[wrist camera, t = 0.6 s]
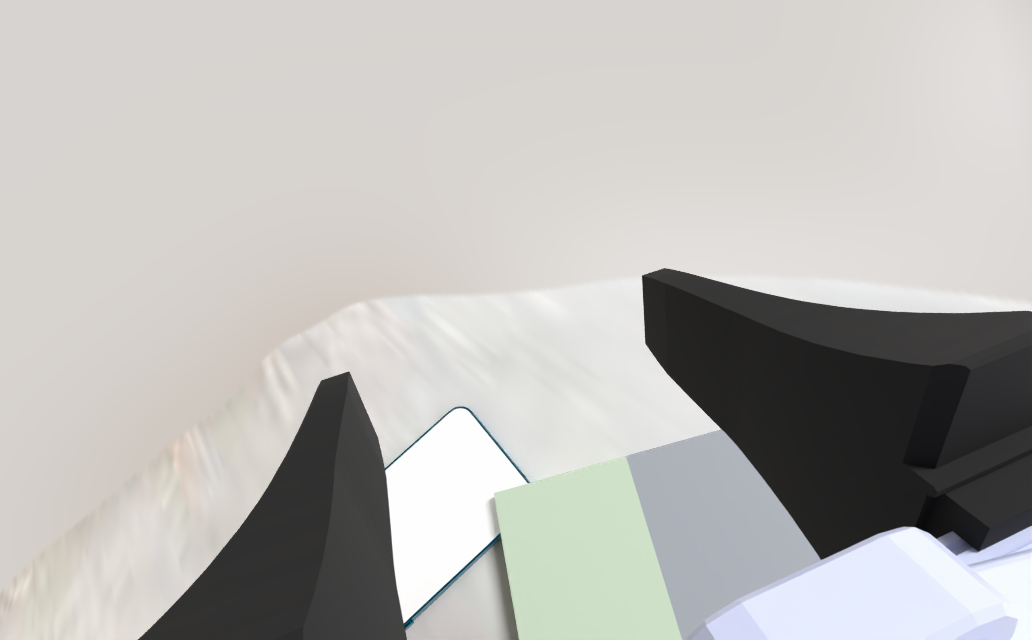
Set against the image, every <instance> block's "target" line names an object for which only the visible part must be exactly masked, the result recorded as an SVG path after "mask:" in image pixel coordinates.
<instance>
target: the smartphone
mask: <svg viewBox="0 0 1032 640" xmlns="http://www.w3.org/2000/svg"><path fill="white" fill-rule="evenodd" d="M385 472H386V478H387V489H388V500H389V512H390V524H391V536H392V548H393V560H394V570H395V577H396V585H397V591H398V596H399V601H400V606H401V612H402V617H403V622H404V627H405V631H406V630H407V629H408V628H409V627H410V626H411V625H412V624H413V623H414V620H415V619H416V618H417V617H418V616H419V615H420V614H421V613H422V612H423V611H425V610H426V609H427V608H428V607H429V606H430V605H431V604H432V603H433V602H434V601H435V600H436V599H437V598H438V597H439V596H440V595H441V594H442V593H444V592H445V591H446V590H447V589H448V588H449V587H450V586H451V585H452V584H453V583H454V582H455V581H456V580H457V579H458V578H459V577H460V576H461V575H463V574H464V573H465V572H466V571H467V570H468V569H469V568H470V567H471V566H472V565H473V564H474V563H475V562H476V561H477V560H478V559H479V558H480V557H482V556H483V555H484V554H485V553H486V552H487V551H488V550H489V549H490V548H491V547H492V546H493V545H494V544H495V543H496V542H497V541H498V540H499V539H501V533H500V527H499V521H498V516H497V510H496V504H495V498H494V493H495V492H499V491H502V490H506V489H510V488H513V487H517V486H520V485H524V484H528V483H530V481H529V480H528V479H527V478H526V476H525V475H524V474H523V473H522V472H521V470H520V469H519V468H518V467H517V466H516V464H515V463H514V462H513V461H512V459H511V458H510V457H509V456H508V454H507V453H506V452H505V451H504V450H503V448H502V447H501V446H500V445H499V444H498V442H497V441H496V440H495V439H494V437H493V436H492V435H491V434H490V432H489V431H488V430H487V429H486V428H485V426H484V425H483V424H482V423H481V421H480V420H479V419H478V418H477V417H476V415H475V414H474V413H473V412H472V411H471V410H470V409H468V408H466V407H455V408H453V409H452V410H451V411H449V412H448V413H447V414H446V415H444V416H443V417H442V418H441V419H440V420H439V421H438V422H437V423H436V424H434V425H433V426H432V427H431V428H430V429H429V430H428V431H427V432H425V433H424V434H423V435H422V436H421V437H420V438H419V439H418V440H416V441H415V442H414V443H413V444H412V445H411V446H410V447H409V448H408V449H406V450H405V451H404V452H403V453H402V454H401V455H400V456H399V457H397V458H396V459H395V460H394V461H393V462H392V463H391V464H390V465H389V466H387V467H386V468H385Z"/></svg>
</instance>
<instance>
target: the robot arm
mask: <svg viewBox="0 0 1032 640" xmlns="http://www.w3.org/2000/svg"><path fill="white" fill-rule="evenodd" d="M642 283H643V304H644V324H645V344H646V345H647V346H648V348H649V349H650V351H651V352H652V354H653V355H654V356H655V358H656V359H657V361H658V362H659V363H660V365H661V366H662V367H663V369H664V370H665V371H666V373H667V374H668V375H669V376H670V377H671V378H672V379H673V380H674V381H675V382H676V383H677V384H678V385H679V386H680V387H681V389H682V390H683V391H684V392H685V393H686V394H687V395H688V396H689V397H690V398H691V399H692V400H693V401H694V402H695V403H696V404H697V405H698V406H699V407H700V408H701V409H702V410H703V411H704V412H705V413H706V414H707V415H708V416H709V417H710V418H711V419H712V420H713V421H714V422H715V423H716V424H717V425H718V426H719V427H720V428H721V429H722V430H723V431H724V432H725V433H726V434H727V435H728V436H729V438H730V439H731V440H732V441H733V442H734V443H735V444H736V445H737V446H738V448H739V449H740V450H741V451H742V453H743V454H744V455H745V456H746V458H747V459H748V460H749V461H750V463H751V464H752V465H753V466H754V468H755V469H756V470H757V472H758V473H759V474H760V475H761V477H762V478H763V479H764V481H765V482H766V483H767V485H768V486H769V487H770V489H771V490H772V491H773V493H774V494H775V495H776V497H777V498H778V499H779V501H780V502H781V503H782V505H783V506H784V507H785V509H786V510H787V511H788V513H789V514H790V516H791V517H792V519H793V520H794V521H795V523H796V524H797V526H798V527H799V529H800V530H801V532H802V533H803V534H804V536H805V537H806V539H807V540H808V542H809V543H810V544H811V546H812V547H813V549H814V550H815V552H816V553H817V555H818V556H819V558H820V559H821V561H819V562H816V563H814V564H812V565H810V566H808V567H806V568H804V569H801V570H799V571H797V572H795V573H793V574H791V575H789V576H786V577H784V578H782V579H780V580H778V581H776V582H773V583H771V584H769V585H767V586H765V587H763V588H761V589H758V590H756V591H754V592H752V593H750V594H748V595H746V596H743V597H741V598H739V599H737V600H735V601H734V602H732V603H730V604H729V605H727V606H726V607H724V608H722V609H721V610H719V611H718V612H716V613H714V614H713V615H711V616H710V617H708V618H706V619H705V620H704V621H703V622H702V623H701V624H700V625H699V626H698V627H697V628H696V629H695V630H694V631H693V632H692V633H691V634H690V635H689V636H688V638H687V639H686V640H1032V312H1031V311H1011V312H984V313H911V312H891V311H878V310H865V309H855V308H845V307H837V306H831V305H824V304H817V303H810V302H804V301H799V300H793V299H788V298H784V297H779V296H774V295H770V294H765V293H761V292H757V291H753V290H749V289H745V288H741V287H737V286H733V285H730V284H726V283H722V282H718V281H715V280H711V279H707V278H704V277H700V276H696V275H693V274H689V273H685V272H681V271H676V270H671V269H665V268H664V269H661V270H658V271H655V272H652V273H649V274H645V275H642ZM138 640H407V637H406V633H405V627H404V622H403V617H402V612H401V606H400V601H399V596H398V591H397V585H396V577H395V570H394V560H393V548H392V536H391V524H390V512H389V500H388V489H387V478H386V472H385V468H384V463H383V458H382V454H381V449H380V445H379V440H378V437H377V435H376V432H375V430H374V428H373V425H372V423H371V421H370V418H369V416H368V414H367V411H366V409H365V407H364V404H363V402H362V400H361V398H360V395H359V393H358V391H357V388H356V386H355V384H354V381H353V379H352V377H351V374H350V372H346V373H343V374H340V375H337V376H334V377H331V378H328V379H325V380H322V381H321V382H320V384H319V386H318V388H317V390H316V393H315V395H314V397H313V400H312V402H311V404H310V407H309V409H308V411H307V413H306V416H305V418H304V420H303V422H302V424H301V426H300V428H299V430H298V432H297V434H296V436H295V439H294V441H293V443H292V445H291V447H290V449H289V451H288V452H287V454H286V456H285V458H284V460H283V461H282V463H281V465H280V467H279V469H278V470H277V472H276V474H275V476H274V477H273V479H272V481H271V483H270V484H269V486H268V488H267V489H266V491H265V492H264V494H263V495H262V497H261V499H260V500H259V502H258V503H257V504H256V506H255V507H254V509H253V510H252V511H251V513H250V514H249V516H248V517H247V519H246V520H245V521H244V523H243V524H242V525H241V527H240V528H239V529H238V531H237V532H236V533H235V534H234V536H233V537H232V538H231V539H230V540H229V542H228V543H227V544H226V545H225V547H224V548H223V549H222V550H221V552H220V553H219V554H218V555H217V556H216V558H215V559H214V560H213V561H212V563H211V564H210V565H209V566H208V568H207V569H206V570H205V571H204V572H203V573H202V574H201V575H200V577H199V578H198V579H197V580H196V581H195V582H194V583H193V584H192V585H191V586H190V588H189V589H188V590H187V591H186V592H185V593H184V594H183V595H182V596H181V597H180V598H179V599H178V600H177V601H176V602H175V604H174V605H173V606H172V607H171V608H170V609H169V610H168V611H167V612H166V613H165V614H164V615H163V616H162V617H161V618H160V619H159V620H158V621H157V622H156V623H155V624H154V625H153V626H152V627H151V628H150V629H149V630H148V631H147V632H146V633H145V634H144V635H143V636H141V637H140V638H139V639H138Z"/></svg>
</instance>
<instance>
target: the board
mask: <svg viewBox="0 0 1032 640" xmlns="http://www.w3.org/2000/svg"><path fill="white" fill-rule="evenodd" d="M494 498H495V504H496V510H497V516H498V521H499V527H500V533H501V539H502V544H503V550H504V556H505V562H506V567H507V573H508V579H509V585H510V590H511V596H512V602H513V608H514V613H515V619H516V625H517V631H518V636H519V640H686V639H687V638H688V636H689V635H690V634H691V633H692V632H693V631H694V630H695V629H696V628H697V627H698V626H699V625H700V624H701V623H702V622H703V621H704V620H705V619H706V618H708V617H710V616H711V615H713V614H714V613H716V612H718V611H719V610H721V609H722V608H724V607H726V606H727V605H729V604H730V603H732V602H734V601H735V600H737V599H739V598H741V597H743V596H746V595H748V594H750V593H752V592H754V591H756V590H758V589H761V588H763V587H765V586H767V585H769V584H771V583H773V582H776V581H778V580H780V579H782V578H784V577H786V576H789V575H791V574H793V573H795V572H797V571H799V570H801V569H804V568H806V567H808V566H810V565H812V564H814V563H816V562H819V561H821V559H820V558H819V556H818V555H817V553H816V552H815V550H814V549H813V547H812V546H811V544H810V543H809V542H808V540H807V539H806V537H805V536H804V534H803V533H802V532H801V530H800V529H799V527H798V526H797V524H796V523H795V521H794V520H793V519H792V517H791V516H790V514H789V513H788V511H787V510H786V509H785V507H784V506H783V505H782V503H781V502H780V501H779V499H778V498H777V497H776V495H775V494H774V493H773V491H772V490H771V489H770V487H769V486H768V485H767V483H766V482H765V481H764V479H763V478H762V477H761V475H760V474H759V473H758V472H757V470H756V469H755V468H754V466H753V465H752V464H751V463H750V461H749V460H748V459H747V458H746V456H745V455H744V454H743V453H742V451H741V450H740V449H739V448H738V446H737V445H736V444H735V443H734V442H733V441H732V440H731V439H730V438H729V436H728V435H727V434H726V433H725V432H724V431H723V430H718V431H715V432H711V433H707V434H704V435H700V436H697V437H693V438H689V439H686V440H682V441H679V442H675V443H671V444H668V445H664V446H661V447H657V448H653V449H650V450H646V451H643V452H639V453H635V454H632V455H628V456H625V457H621V458H617V459H614V460H610V461H607V462H603V463H599V464H596V465H592V466H589V467H585V468H582V469H578V470H574V471H571V472H567V473H564V474H560V475H556V476H553V477H549V478H546V479H542V480H538V481H535V482H531V483H528V484H524V485H520V486H517V487H513V488H510V489H506V490H502V491H499V492H495V493H494Z"/></svg>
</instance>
